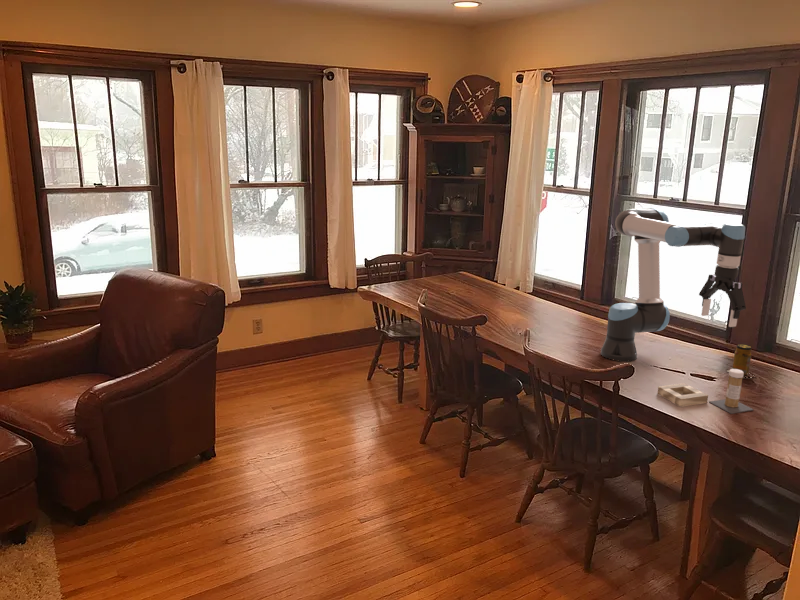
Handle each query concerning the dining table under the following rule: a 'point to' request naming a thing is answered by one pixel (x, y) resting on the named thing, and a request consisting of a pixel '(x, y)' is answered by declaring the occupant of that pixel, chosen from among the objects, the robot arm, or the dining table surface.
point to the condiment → (742, 359)
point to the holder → (689, 397)
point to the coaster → (731, 410)
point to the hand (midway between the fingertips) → (718, 320)
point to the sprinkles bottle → (734, 388)
